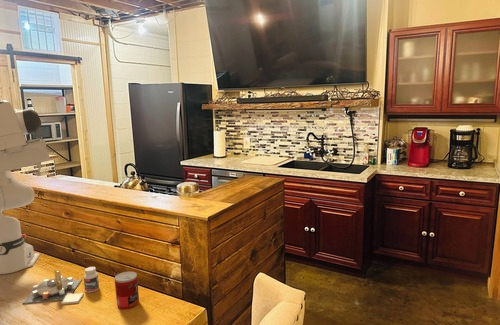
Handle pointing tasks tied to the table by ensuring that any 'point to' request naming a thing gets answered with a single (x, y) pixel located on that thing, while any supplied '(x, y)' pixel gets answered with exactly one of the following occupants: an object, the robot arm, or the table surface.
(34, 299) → the gray square plate
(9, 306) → the table surface
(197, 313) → the table surface
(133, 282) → the canned food
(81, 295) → the pad
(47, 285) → the sprocket
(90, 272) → the pill bottle
